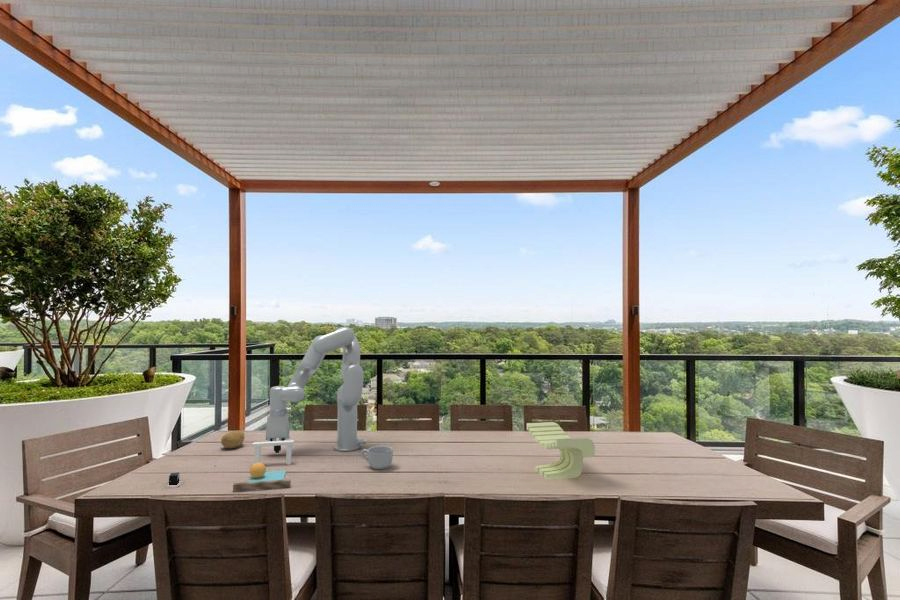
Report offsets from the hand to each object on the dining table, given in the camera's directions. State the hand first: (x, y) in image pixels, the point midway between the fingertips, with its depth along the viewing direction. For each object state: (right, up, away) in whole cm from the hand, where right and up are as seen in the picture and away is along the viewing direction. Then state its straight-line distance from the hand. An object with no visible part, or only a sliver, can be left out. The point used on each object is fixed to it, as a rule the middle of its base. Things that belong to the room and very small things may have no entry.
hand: (277, 452), depth 221 cm
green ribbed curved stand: (+126, -1, -25) cm, 128 cm away
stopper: (+10, 0, -44) cm, 45 cm away
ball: (+4, +3, -31) cm, 32 cm away
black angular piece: (-25, -1, -39) cm, 47 cm away
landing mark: (+7, 0, -30) cm, 31 cm away
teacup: (+49, -1, -17) cm, 52 cm away
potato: (-27, -2, +14) cm, 31 cm away
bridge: (+3, -1, -14) cm, 14 cm away
